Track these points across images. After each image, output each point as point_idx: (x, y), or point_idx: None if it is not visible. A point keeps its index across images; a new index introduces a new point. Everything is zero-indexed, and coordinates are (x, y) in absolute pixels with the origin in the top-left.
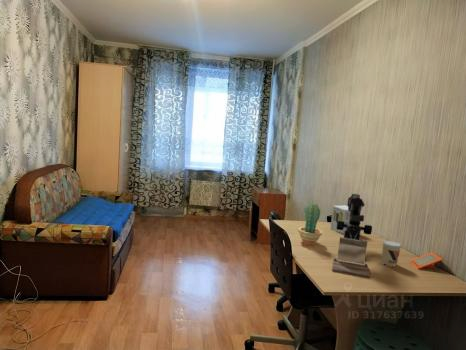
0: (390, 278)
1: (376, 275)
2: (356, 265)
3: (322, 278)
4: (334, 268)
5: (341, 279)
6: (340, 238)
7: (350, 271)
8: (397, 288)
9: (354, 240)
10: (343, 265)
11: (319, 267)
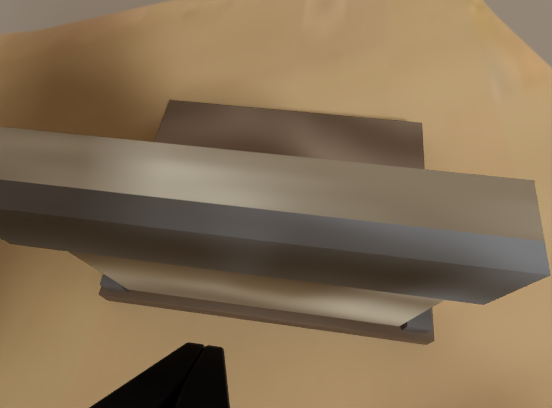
0: None
1: None
2: None
3: (460, 28)
4: (407, 132)
5: (354, 46)
6: (513, 186)
7: (291, 122)
8: (57, 42)
9: (215, 150)
10: None
11: (514, 164)
